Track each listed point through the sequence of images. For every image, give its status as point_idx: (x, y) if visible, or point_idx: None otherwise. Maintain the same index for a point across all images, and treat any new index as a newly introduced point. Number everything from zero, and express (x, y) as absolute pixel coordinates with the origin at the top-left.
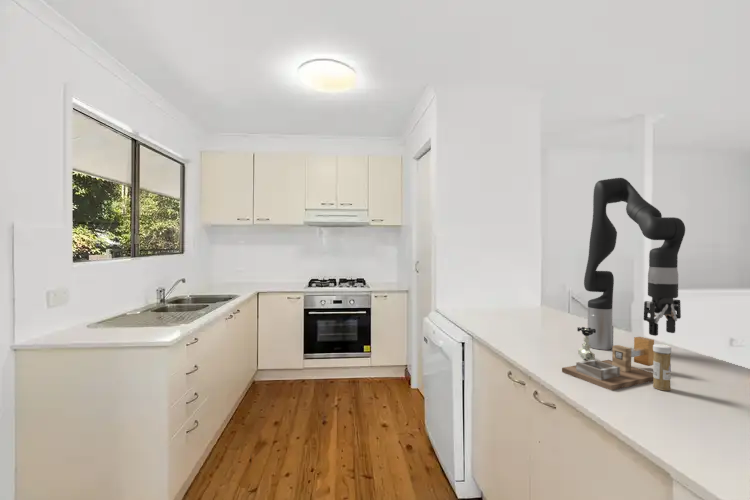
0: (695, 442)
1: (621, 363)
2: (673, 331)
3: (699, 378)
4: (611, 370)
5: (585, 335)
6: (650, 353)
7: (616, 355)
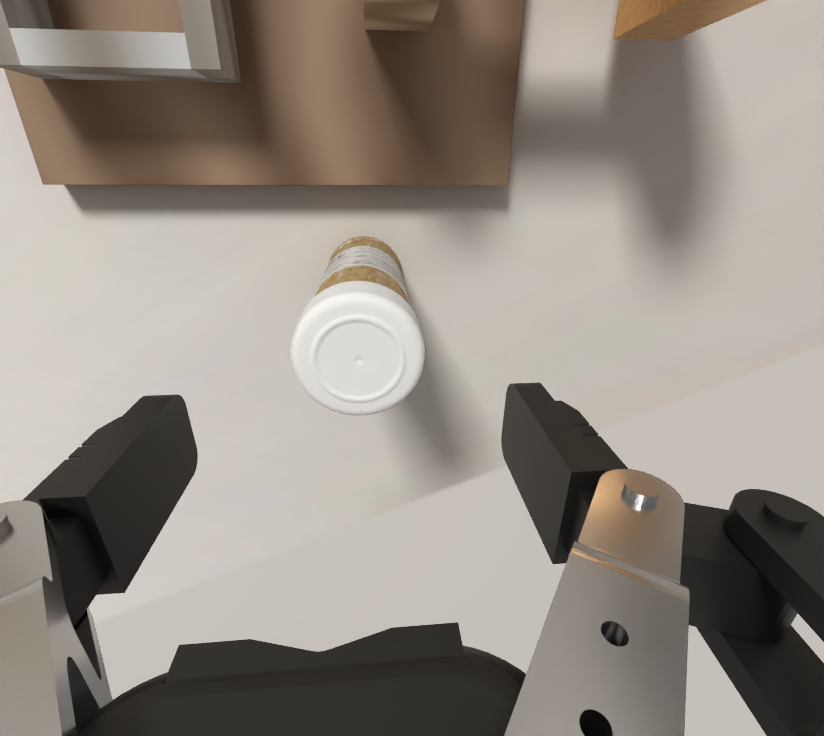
0: None
1: None
2: (505, 460)
3: (695, 257)
4: (125, 70)
5: None
6: (695, 9)
7: None
